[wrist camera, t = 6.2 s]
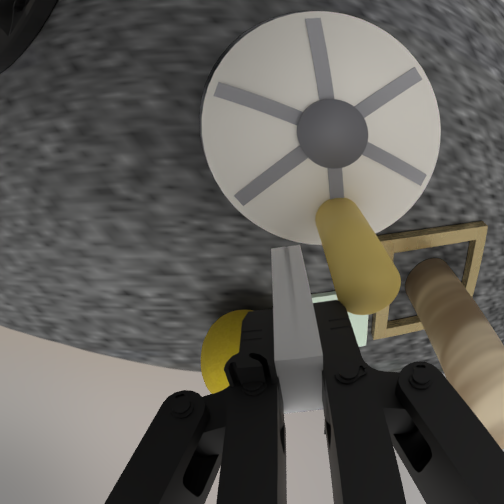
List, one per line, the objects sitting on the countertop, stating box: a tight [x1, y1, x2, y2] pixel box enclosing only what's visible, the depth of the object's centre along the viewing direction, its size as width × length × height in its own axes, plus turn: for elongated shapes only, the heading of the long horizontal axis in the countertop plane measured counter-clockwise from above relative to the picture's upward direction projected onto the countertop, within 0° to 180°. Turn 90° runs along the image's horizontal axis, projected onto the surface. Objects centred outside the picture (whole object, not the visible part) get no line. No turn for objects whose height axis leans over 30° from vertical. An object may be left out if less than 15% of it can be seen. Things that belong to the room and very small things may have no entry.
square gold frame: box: [371, 221, 488, 340], centre depth 20 cm, size 9×9×1 cm
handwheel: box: [202, 11, 441, 315], centre depth 11 cm, size 12×12×8 cm
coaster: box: [311, 291, 368, 347], centre depth 23 cm, size 6×6×1 cm
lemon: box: [201, 310, 253, 394], centre depth 20 cm, size 6×6×8 cm
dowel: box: [405, 258, 504, 449], centre depth 15 cm, size 4×4×14 cm
